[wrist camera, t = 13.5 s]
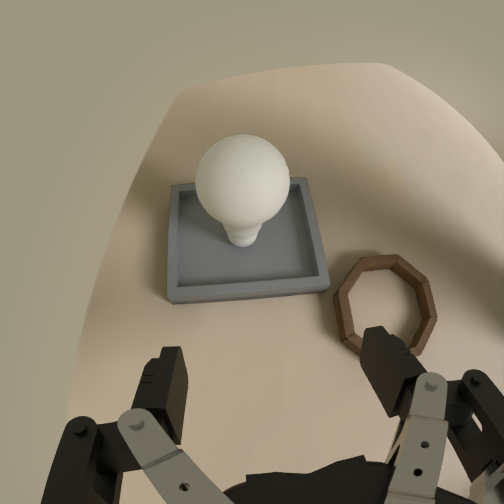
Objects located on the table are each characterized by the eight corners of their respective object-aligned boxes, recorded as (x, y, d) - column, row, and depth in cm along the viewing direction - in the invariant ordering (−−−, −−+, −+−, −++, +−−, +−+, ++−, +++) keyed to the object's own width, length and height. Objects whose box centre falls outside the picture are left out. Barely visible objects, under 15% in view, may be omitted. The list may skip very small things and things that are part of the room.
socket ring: (412, 258, 26) (419, 251, 25) (434, 350, 22) (443, 347, 21) (326, 266, 26) (331, 260, 24) (345, 373, 22) (351, 372, 20)
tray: (302, 189, 29) (306, 177, 28) (324, 292, 25) (330, 284, 23) (175, 197, 28) (171, 185, 27) (172, 304, 24) (166, 297, 22)
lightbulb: (238, 198, 28) (237, 104, 18) (290, 234, 26) (316, 145, 16) (193, 242, 25) (167, 154, 16) (247, 284, 24) (250, 209, 14)
